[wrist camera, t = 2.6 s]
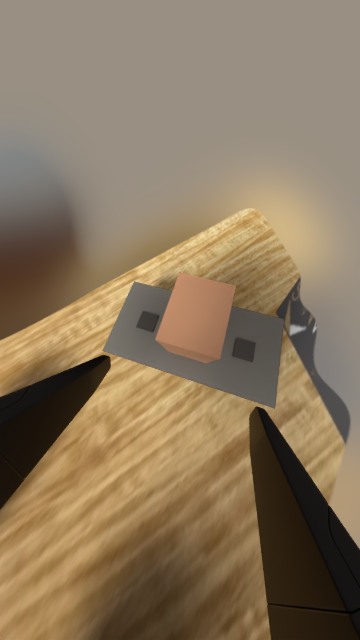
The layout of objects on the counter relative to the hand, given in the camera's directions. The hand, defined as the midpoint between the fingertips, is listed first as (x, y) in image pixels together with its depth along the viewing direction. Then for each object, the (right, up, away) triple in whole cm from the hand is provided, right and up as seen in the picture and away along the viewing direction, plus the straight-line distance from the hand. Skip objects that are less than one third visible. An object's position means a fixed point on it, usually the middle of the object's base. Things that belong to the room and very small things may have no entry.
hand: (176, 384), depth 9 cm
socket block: (+2, +1, +12) cm, 12 cm away
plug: (+2, +1, +12) cm, 12 cm away
